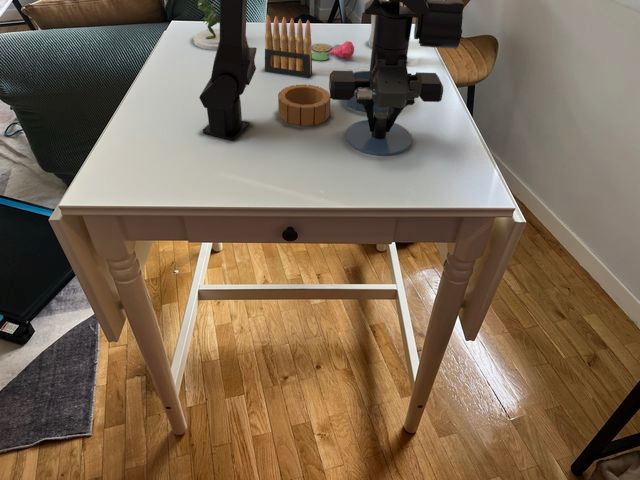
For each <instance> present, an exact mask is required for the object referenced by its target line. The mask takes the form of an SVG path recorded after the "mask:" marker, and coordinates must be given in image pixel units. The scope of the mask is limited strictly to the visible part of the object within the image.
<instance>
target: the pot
mask: <svg viewBox="0 0 640 480" xmlns="http://www.w3.org/2000/svg"><path fill="white" fill-rule="evenodd" d="M369 73H370V70H357V71H353V75H354V78H355V79H369ZM372 95H373V100H374V107H373V114H375V113H377V112H383V113H386V112H389V107H385V108H380V107H378V106H377V105H376V103H375V92H373V94H372ZM342 103H343V104H344V105H345V106H346V107H347V108H350V109H351V110H354V111H356V112H360V113H365V114H366V111H365V109H364V106H363V105H362V104H358V103H357V102H356V98H355V93H354V96H353V97H352V98H351V99H350V100H342Z"/></svg>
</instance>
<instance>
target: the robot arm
mask: <svg viewBox="0 0 640 480" xmlns="http://www.w3.org/2000/svg"><path fill="white" fill-rule="evenodd" d="M401 4H402V5H401ZM464 7H465V4H464V2H463V0H389V1H387V0H368V1H367V2H365V3H364V9H363V13H364V15H367V16H371V15H376V17H375V26H374V36H373V45H372V47H371V55H370V65H369V71H370V73H369V79H355V78H354V75H353V72H354V71H353V70H332V71H331V72H330V73H329V78H328V79H329V80H328V89H329V95H330V98H331V99H330V100H333V101H343V100H350V99H351V98H352V97H353V96H354V93H355V98H356V102H357V103H358V104H362V105H363V106H364V109H365V111H366V113H365V114H366V119H367V120H368V123H369V128H370V132H373V126H374V113H373V107H374V100H373V95H372V94H373V93H375V103H376V105H377V106H378V107H380V108H385V107H389V111H387V112H388V113H387V114H388V116H389V117H388V124H387V131H386V132H389V131H390V129H391V128H392V126H393V124H394V123H396V120H397V119H398V118H399V116H400V114H401V113H402V111H403V110H404V109H405V108H407V107H408V106H414V105H415V103H416V101H415V99H419V98H420V100H422V102H425V103H440V102H441V101H442V99H443V95H444V84H443V83H442V81H441V79H440V77H439V75H438V74H437V73H436V72H417V71H416V72H415V74H412V73H411V72H410V73H409V71H408V52H409V45H410V40H411V39H410V38H411V33H412V27H413V20H414V18H415V22H414V30H413V39H414V40H418V44H419V46H420V47H422V48H436V49H450V50H451V49H452V50H456V49H458V47H459V45H460V43H461V39H462V35H463V19H464V18H463V17H464V16H463V15H464ZM247 9H248V0H219V16H220V23H219V29H220V40H219V44H218V48H217V50H216V52H215V56H214V59H213V65H212V70H211V77H210V78H209V80H208V82H207V83H206V85H205V86H204V88H203V90H202V92H201V93H200V95H199V97H198V98H199V100H200V102H201V104H202V106H203V108H204V109H206V113H207V120H208V125H206V126H205V127H204V128H203V129H202V133H203V134H205V135H209V136H214V137H216V138H217V137H218V138H222V139H224V140H225V139H226V140H229V141H234V140H236V139H237V138H238V137H239V136H240V135H241V134H242V133H243V132H244V131H245V130H246V129H247V128H248V127H249V126H250V122H249V121H246V120H243V114H242V102H241V95H243V93H244V91H245V90H246V88H247V86H249V85H250V84H251V81H252V80H253V77H254V75H255V73H256V70H257V67H256V63H255V61H256V60H255V59H256V54H257V49H258V48H257V47H250V46H249V43H248V41H247V15H248V14H247V11H248V10H247Z"/></svg>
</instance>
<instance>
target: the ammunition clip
mask: <svg viewBox="0 0 640 480" xmlns="http://www.w3.org/2000/svg"><path fill="white" fill-rule="evenodd" d="M279 22H280V21H279V19H278V16H277V15H275V16H274V20H273V30H272V21H271V17H270V15H269V14H267V15H266V18H265V33H264V47H265V48H264V72H265V73H272V74H273V73H274V74H280V75H285V76H286V75H287V76H294V77H300V78H308V79H311V77H312V75H313V59H312V54H313V52H312V34H311V32H312V31H311V30H312V29H311V22H310V20H309V19H307V20H306V23H305V27H304V26H303V23H302V19H301V18H299V19H298V22H297V28H296V27H295V21H294V18H293V17H291V18H290V21H289V26H288V23H287V19H286V17H285V16H283V18H282V20H281V30H280V23H279ZM303 27H304V28H303ZM272 31H273V32H272Z"/></svg>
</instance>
